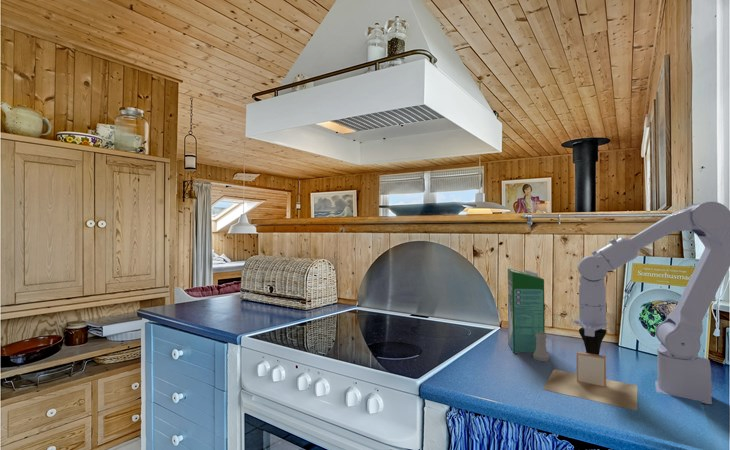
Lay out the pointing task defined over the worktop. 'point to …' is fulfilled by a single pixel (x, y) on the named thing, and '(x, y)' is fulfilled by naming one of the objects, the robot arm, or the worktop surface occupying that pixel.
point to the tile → (591, 369)
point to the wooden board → (593, 390)
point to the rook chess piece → (541, 347)
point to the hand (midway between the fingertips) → (592, 358)
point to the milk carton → (525, 309)
